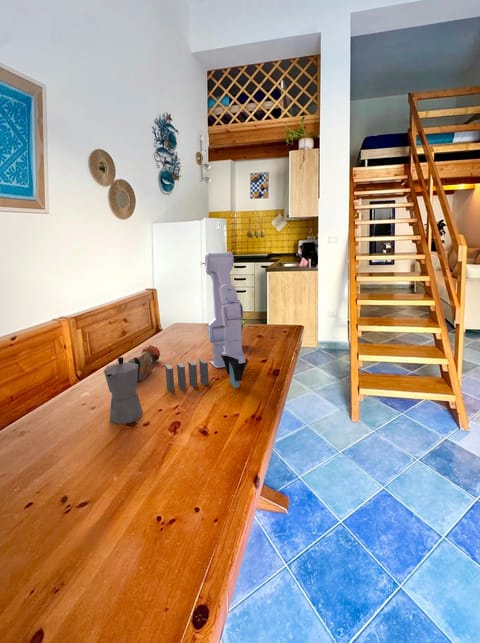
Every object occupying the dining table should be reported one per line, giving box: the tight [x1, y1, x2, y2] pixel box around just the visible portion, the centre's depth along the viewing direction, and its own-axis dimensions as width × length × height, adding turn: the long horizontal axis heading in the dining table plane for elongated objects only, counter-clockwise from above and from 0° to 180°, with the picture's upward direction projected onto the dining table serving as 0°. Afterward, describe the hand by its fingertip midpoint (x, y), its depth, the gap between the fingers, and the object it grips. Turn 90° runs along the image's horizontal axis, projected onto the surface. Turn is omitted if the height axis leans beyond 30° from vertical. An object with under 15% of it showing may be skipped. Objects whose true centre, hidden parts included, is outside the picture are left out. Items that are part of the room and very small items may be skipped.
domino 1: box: [164, 364, 176, 393], centre depth 127 cm, size 2×4×8 cm, turn 23°
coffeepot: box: [103, 356, 144, 425], centre depth 108 cm, size 15×9×18 cm, turn 163°
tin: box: [133, 351, 154, 382], centre depth 140 cm, size 15×3×8 cm, turn 168°
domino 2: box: [176, 362, 187, 391], centre depth 128 cm, size 2×4×8 cm, turn 23°
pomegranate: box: [141, 344, 161, 363], centre depth 155 cm, size 7×7×10 cm
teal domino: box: [229, 361, 240, 389], centre depth 129 cm, size 2×4×8 cm, turn 23°
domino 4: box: [198, 358, 210, 386], centre depth 132 cm, size 2×4×8 cm, turn 23°
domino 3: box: [187, 360, 199, 388], centre depth 130 cm, size 2×4×8 cm, turn 23°
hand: (234, 377), depth 129 cm, fingers open, 6 cm apart
